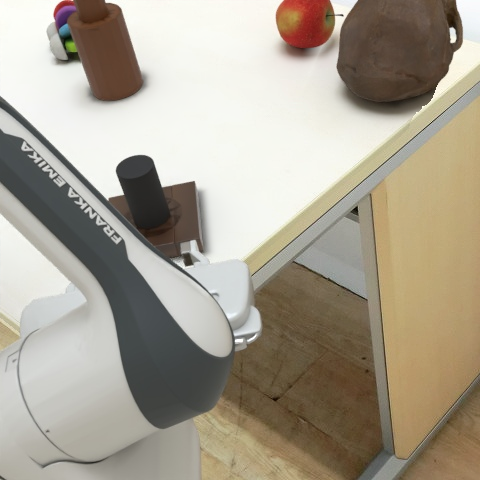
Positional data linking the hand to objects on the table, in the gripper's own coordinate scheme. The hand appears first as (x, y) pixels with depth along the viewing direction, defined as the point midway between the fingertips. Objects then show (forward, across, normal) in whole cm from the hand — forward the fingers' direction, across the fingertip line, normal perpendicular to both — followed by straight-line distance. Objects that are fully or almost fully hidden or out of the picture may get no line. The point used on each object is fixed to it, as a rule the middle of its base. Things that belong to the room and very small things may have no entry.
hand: (140, 255), depth 73 cm
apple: (+48, -19, +4) cm, 51 cm away
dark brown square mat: (+11, 0, +7) cm, 13 cm away
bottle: (+44, +5, +7) cm, 45 cm away
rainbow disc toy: (+58, +11, +7) cm, 60 cm away
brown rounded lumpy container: (+35, -35, +8) cm, 50 cm away
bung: (+11, 0, +7) cm, 13 cm away
